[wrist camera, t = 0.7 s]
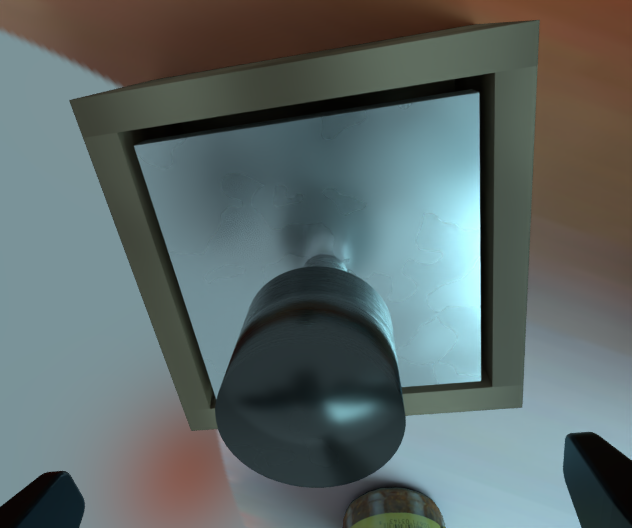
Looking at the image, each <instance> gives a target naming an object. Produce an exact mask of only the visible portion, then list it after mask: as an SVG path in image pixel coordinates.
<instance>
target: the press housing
mask: <svg viewBox="0 0 632 528" xmlns="http://www.w3.org/2000/svg"><path fill="white" fill-rule="evenodd" d="M538 42H539V20H532V21H517V22H503V23H488V24H475V25H470V26H464V27H458V28H452V29H446V30H441V31H435V32H429V33H423V34H417V35H412V36H406V37H400V38H394V39H388V40H383V41H377V42H371V43H365V44H359V45H354V46H348V47H342V48H336V49H330V50H325V51H319V52H313V53H307V54H301V55H296V56H290V57H284V58H278V59H272V60H267V61H261V62H255V63H249V64H243V65H238V66H232V67H226V68H220V69H214V70H209V71H203V72H197V73H191V74H185V75H180V76H174V77H168V78H162V79H156V80H151V81H147V82H143V83H139V84H135V85H131V86H127V87H122V88H118V89H114V90H110V91H106V92H102V93H97V94H93V95H90V96H85V97H81V98H77V99H73V100H70V104H71V106H72V109H73V112H74V115H75V117H76V120H77V122H78V125H79V128H80V131H81V133H82V136H83V139H84V141H85V144H86V147H87V150H88V152H89V155H90V158H91V161H92V163H93V166H94V169H95V171H96V174H97V177H98V179H99V182H100V185H101V188H102V190H103V193H104V196H105V198H106V201H107V204H108V207H109V209H110V212H111V215H112V217H113V220H114V223H115V226H116V228H117V231H118V234H119V236H120V239H121V242H122V244H123V247H124V250H125V253H126V255H127V258H128V260H129V263H130V266H131V269H132V272H133V274H134V277H135V279H136V282H137V285H138V287H139V290H140V293H141V296H142V298H143V301H144V304H145V307H146V309H147V312H148V315H149V317H150V320H151V323H152V326H153V328H154V331H155V334H156V336H157V339H158V342H159V345H160V347H161V350H162V353H163V355H164V358H165V361H166V363H167V366H168V369H169V371H170V374H171V377H172V380H173V383H174V385H175V388H176V391H177V393H178V396H179V399H180V401H181V404H182V407H183V410H184V412H185V415H186V418H187V420H188V423H189V426H190V428H191V430H192V431H195V430H209V429H218V427H217V423H216V417H215V406H216V397H215V394H214V391H213V388H212V385H211V382H210V379H209V375H208V372H207V369H206V366H205V363H204V360H203V357H202V354H201V351H200V348H199V345H198V342H197V339H196V336H195V332H194V329H193V326H192V323H191V320H190V317H189V314H188V311H187V308H186V305H185V302H184V299H183V296H182V292H181V289H180V286H179V283H178V280H177V277H176V274H175V271H174V268H173V265H172V262H171V259H170V256H169V253H168V249H167V246H166V243H165V240H164V237H163V234H162V231H161V228H160V225H159V222H158V219H157V216H156V213H155V209H154V206H153V203H152V200H151V197H150V194H149V191H148V188H147V185H146V182H145V179H144V176H143V173H142V170H141V166H140V163H139V160H138V157H137V154H136V151H135V148H134V146H135V145H136V144H138V143H140V142H142V141H144V140H148V139H154V138H161V137H167V136H173V135H180V134H186V133H193V132H199V131H206V130H212V129H218V128H225V127H231V126H238V125H244V124H251V123H257V122H263V121H270V120H276V119H283V118H289V117H296V116H302V115H308V114H315V113H321V112H328V111H334V110H341V109H347V108H353V107H360V106H366V105H373V104H379V103H386V102H392V101H398V100H405V99H411V98H418V97H424V96H431V95H437V94H443V93H450V92H456V91H463V90H469V89H473V90H475V91H477V92H479V114H480V294H481V381H474V382H461V383H449V384H436V385H423V386H410V387H401V389H402V395H403V402H404V409H405V416H408V415H422V414H436V413H451V412H465V411H479V410H493V409H507V408H521V407H522V401H523V379H524V356H525V334H526V311H527V289H528V267H529V244H530V222H531V199H532V177H533V154H534V132H535V109H536V87H537V65H538Z"/></svg>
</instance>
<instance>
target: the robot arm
mask: <svg viewBox="0 0 632 528" xmlns="http://www.w3.org/2000/svg"><path fill="white" fill-rule="evenodd" d="M563 473H564V478H565V482H566V485H567V488H568V491H569V494H570V496H571V499H572V502H573V505H574V508H575V510H576V513H577V516H578V519H579V522H580V525H581V527H582V528H632V460H630V459H629V458H628V457H626V456H625V455H624V454H622V453H621V452H620V451H619V450H617V449H616V448H615V447H613V446H612V445H611V444H609V443H608V442H607V441H605V440H604V439H603V438H601V437H600V436H599V435H597V434H595V433H593V432H581V433H570V434H568V435H567V436H566V438H565V448H564V462H563ZM84 509H85V502H84V498H83V496H82V494H81V493H80V491H79V489H78V487H77V486H76V484H75V483H74V480H73V479H72V477H71V475H70V474H69V473H68V472H66V471H56V472H47V473H44V474H42V475H40V476H39V477H38V478H36V479H35V480H34V481H33V482H31V483H30V484H29V485H28V486H26V487H25V488H24V489H23V490H21V491H20V492H19V493H17V494H16V495H15V496H14V497H12V498H11V499H10V500H9V501H7V502H6V503H5V504H3V505H2V506H1V507H0V528H79V526H80V523H81V520H82V517H83V513H84Z"/></svg>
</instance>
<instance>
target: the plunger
mask: <svg viewBox="0 0 632 528" xmlns="http://www.w3.org/2000/svg"><path fill="white" fill-rule="evenodd" d="M134 148H135V151H136V154H137V157H138V160H139V163H140V166H141V170H142V173H143V176H144V179H145V182H146V185H147V188H148V191H149V194H150V197H151V200H152V203H153V206H154V209H155V213H156V216H157V219H158V222H159V225H160V228H161V231H162V234H163V237H164V240H165V243H166V246H167V249H168V253H169V256H170V259H171V262H172V265H173V268H174V271H175V274H176V277H177V280H178V283H179V286H180V289H181V292H182V296H183V299H184V302H185V305H186V308H187V311H188V314H189V317H190V320H191V323H192V326H193V329H194V332H195V336H196V339H197V342H198V345H199V348H200V351H201V354H202V357H203V360H204V363H205V366H206V369H207V372H208V375H209V379H210V382H211V385H212V388H213V391H214V394H215V397H216V406H215V417H216V423H217V427H218V430H219V432H220V435H221V437H222V439H223V441H224V442H225V444H226V446H227V447H228V448H229V449H230V451H231V452H232V453H233V454H234V455H235V456H236V457H237V458H238V459H239V460H240V461H241V462H242V463H244V464H245V465H246V466H248V467H249V468H251V469H252V470H254V471H256V472H257V473H259V474H261V475H263V476H265V477H267V478H270V479H272V480H275V481H278V482H281V483H285V484H289V485H294V486H300V487H311V488H324V487H334V486H339V485H344V484H348V483H352V482H355V481H358V480H360V479H362V478H365V477H367V476H369V475H370V474H372V473H374V472H376V471H377V470H378V469H380V468H381V467H382V466H384V465H385V464H386V463H387V462H388V461H389V460H390V459H391V458H392V456H393V455H394V454H395V453H396V451H397V449H398V448H399V446H400V444H401V441H402V439H403V436H404V431H405V426H406V420H405V409H404V402H403V395H402V389H401V387H410V386H423V385H436V384H449V383H461V382H474V381H481V294H480V114H479V92H477V91H475V90H473V89H469V90H463V91H456V92H450V93H443V94H437V95H431V96H424V97H418V98H411V99H405V100H398V101H392V102H386V103H379V104H373V105H366V106H360V107H353V108H347V109H341V110H334V111H328V112H321V113H315V114H308V115H302V116H296V117H289V118H283V119H276V120H270V121H263V122H257V123H251V124H244V125H238V126H231V127H225V128H218V129H212V130H206V131H199V132H193V133H186V134H180V135H173V136H167V137H161V138H154V139H148V140H144V141H142V142H140V143H138V144H136V145H135V146H134Z"/></svg>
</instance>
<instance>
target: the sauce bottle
mask: <svg viewBox="0 0 632 528" xmlns="http://www.w3.org/2000/svg"><path fill="white" fill-rule="evenodd" d="M343 528H446V527H445V523H444V520H443V516H442V515H441V512H440V510H439V508H438V507H437V506H436V504H435V502H433V500H432V499H430V498H428V497H427V496H425V495H423V494H422V493H420V492H419V493H418V492H416V491H411V490H408V489H406V488H394V487H393V488H380V489H377V490H375V491H370V492H368V493H366V494H365V495H363V496H360V497H359V498H357V499H356V500H354V501H353V502H352V503H351V504H350V505H349V507H348V509H347V511H346V514H345V516H344V519H343Z"/></svg>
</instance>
